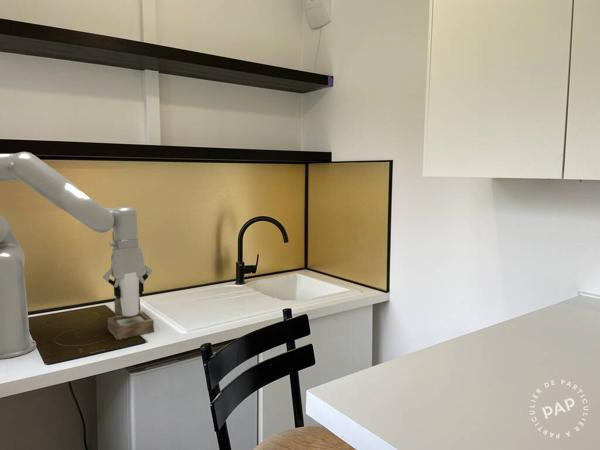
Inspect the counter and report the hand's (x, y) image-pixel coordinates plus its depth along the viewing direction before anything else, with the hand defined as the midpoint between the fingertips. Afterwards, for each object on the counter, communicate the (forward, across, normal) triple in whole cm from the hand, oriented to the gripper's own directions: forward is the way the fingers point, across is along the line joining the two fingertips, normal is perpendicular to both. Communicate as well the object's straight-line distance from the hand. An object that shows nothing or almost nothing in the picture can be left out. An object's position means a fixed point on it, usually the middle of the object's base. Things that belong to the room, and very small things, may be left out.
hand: (129, 295), depth 150 cm
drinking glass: (+7, 0, 0) cm, 7 cm away
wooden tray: (+12, 0, 0) cm, 12 cm away
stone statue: (+13, +3, +15) cm, 20 cm away
